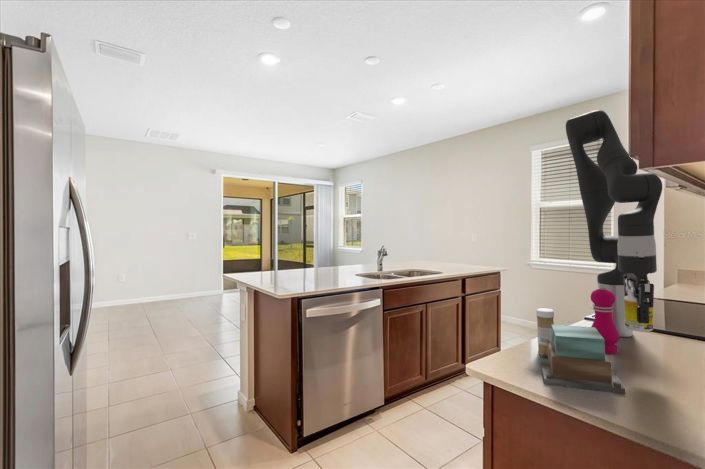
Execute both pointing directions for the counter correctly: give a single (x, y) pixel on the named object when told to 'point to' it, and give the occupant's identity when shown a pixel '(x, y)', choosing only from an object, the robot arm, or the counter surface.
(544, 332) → the sprinkles bottle
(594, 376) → the layered slab stack
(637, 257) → the robot arm
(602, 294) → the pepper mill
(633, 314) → the supplement bottle
